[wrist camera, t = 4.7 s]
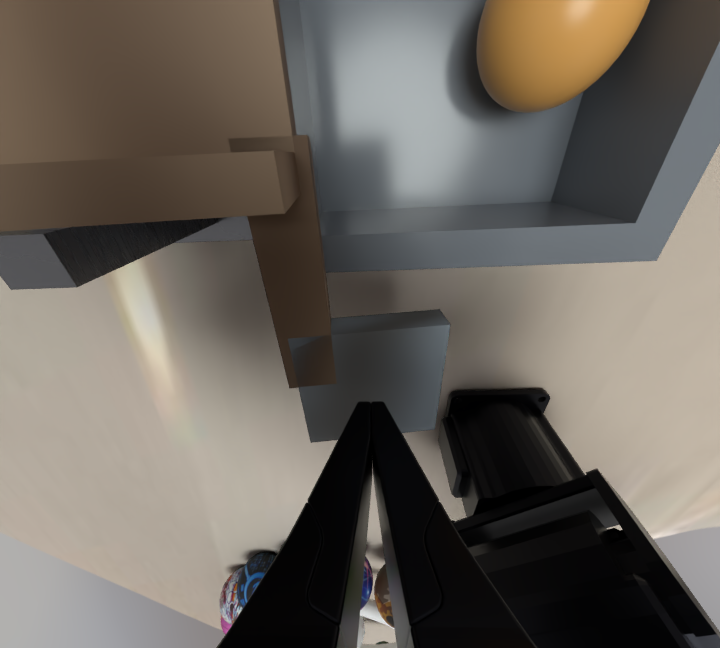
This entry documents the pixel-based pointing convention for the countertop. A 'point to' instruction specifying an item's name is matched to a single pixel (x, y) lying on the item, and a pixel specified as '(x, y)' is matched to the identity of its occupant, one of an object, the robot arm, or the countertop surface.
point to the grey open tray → (495, 139)
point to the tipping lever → (199, 172)
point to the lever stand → (99, 248)
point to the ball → (550, 47)
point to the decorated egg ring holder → (254, 570)
